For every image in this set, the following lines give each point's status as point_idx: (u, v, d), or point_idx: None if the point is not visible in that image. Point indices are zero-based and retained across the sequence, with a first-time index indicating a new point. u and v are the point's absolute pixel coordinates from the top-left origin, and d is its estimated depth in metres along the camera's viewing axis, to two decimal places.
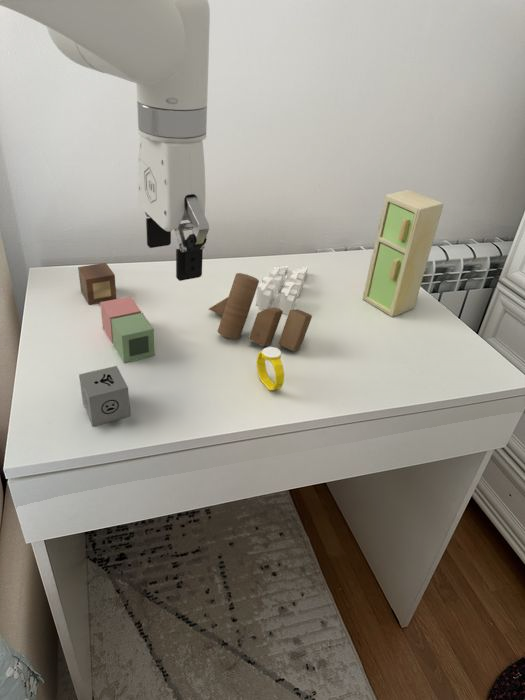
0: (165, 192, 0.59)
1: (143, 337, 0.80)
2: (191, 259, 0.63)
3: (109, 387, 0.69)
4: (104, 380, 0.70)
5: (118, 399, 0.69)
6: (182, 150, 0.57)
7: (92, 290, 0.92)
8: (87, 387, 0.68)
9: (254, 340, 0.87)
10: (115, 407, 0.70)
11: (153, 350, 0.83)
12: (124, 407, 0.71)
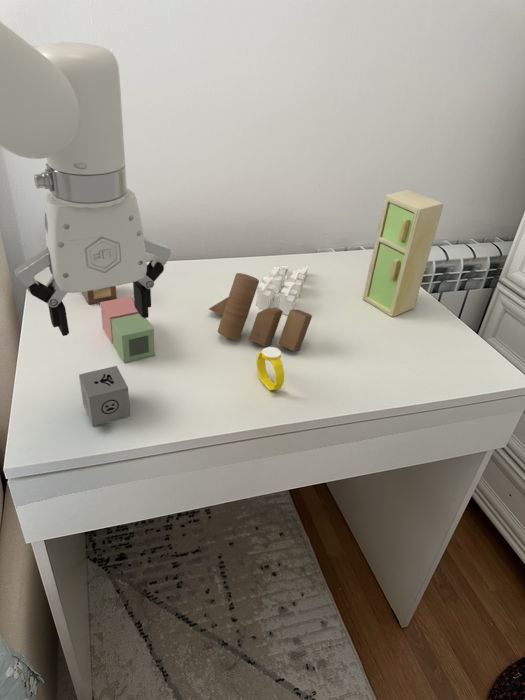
0: (139, 243, 0.59)
1: (143, 337, 0.80)
2: None
3: (109, 387, 0.69)
4: (104, 380, 0.70)
5: (118, 399, 0.69)
6: None
7: (92, 290, 0.92)
8: (87, 387, 0.68)
9: (254, 340, 0.87)
10: (115, 407, 0.70)
11: (153, 350, 0.83)
12: (124, 407, 0.71)
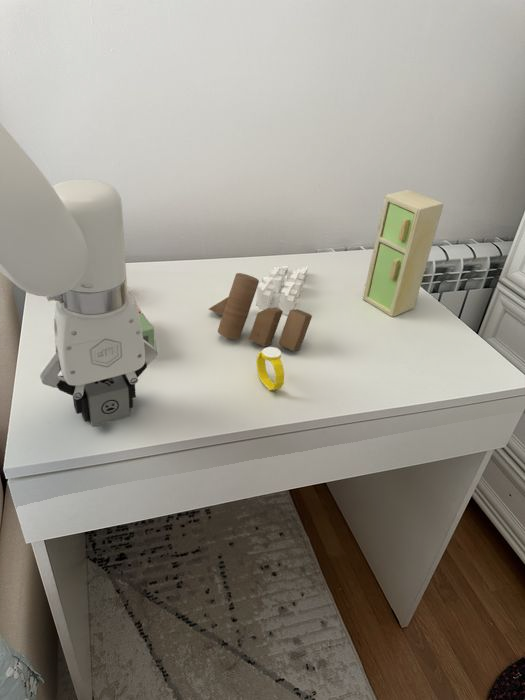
0: (138, 340, 0.66)
1: (143, 337, 0.80)
2: None
3: (109, 387, 0.69)
4: (104, 380, 0.70)
5: (118, 399, 0.69)
6: (135, 301, 0.65)
7: None
8: (87, 387, 0.68)
9: (254, 340, 0.87)
10: (115, 407, 0.70)
11: None
12: (124, 407, 0.71)
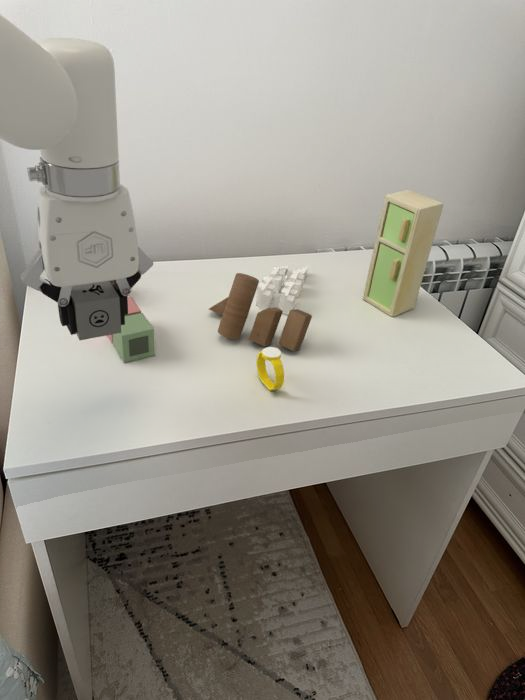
0: (131, 239, 0.59)
1: (143, 337, 0.80)
2: None
3: (98, 296, 0.62)
4: (93, 290, 0.63)
5: (108, 310, 0.63)
6: None
7: None
8: (74, 295, 0.62)
9: (254, 340, 0.87)
10: (105, 320, 0.63)
11: (153, 350, 0.83)
12: (115, 321, 0.64)
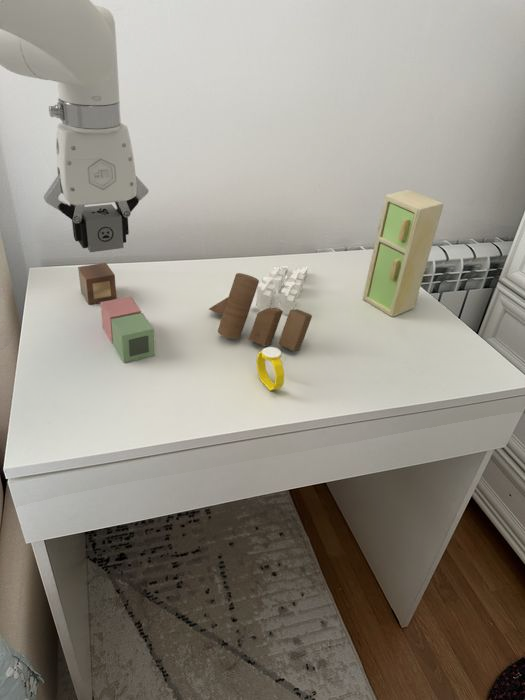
0: (130, 167, 0.75)
1: (143, 337, 0.80)
2: None
3: (105, 215, 0.77)
4: None
5: (113, 227, 0.78)
6: None
7: (92, 290, 0.92)
8: (85, 214, 0.77)
9: (254, 340, 0.87)
10: (110, 235, 0.79)
11: (153, 350, 0.83)
12: (118, 237, 0.79)
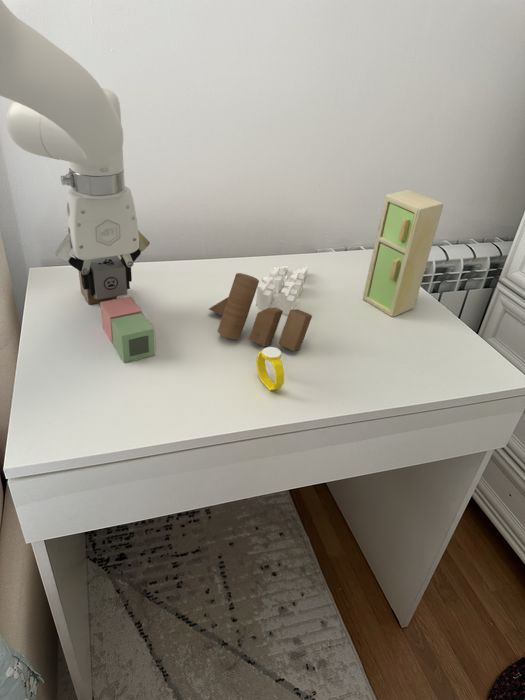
0: (133, 225, 0.83)
1: (143, 337, 0.80)
2: (128, 269, 0.89)
3: (110, 266, 0.86)
4: (106, 263, 0.87)
5: (117, 277, 0.86)
6: None
7: None
8: (92, 266, 0.85)
9: (254, 340, 0.87)
10: (115, 284, 0.87)
11: (153, 350, 0.83)
12: (122, 285, 0.87)
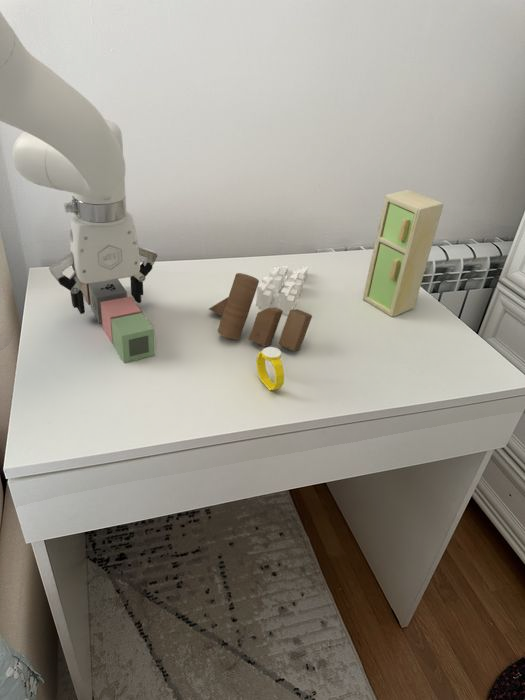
0: (134, 249, 0.85)
1: (143, 337, 0.80)
2: (140, 284, 0.92)
3: (112, 292, 0.88)
4: (108, 287, 0.90)
5: None
6: None
7: None
8: (95, 291, 0.88)
9: (254, 340, 0.87)
10: None
11: (153, 350, 0.83)
12: None
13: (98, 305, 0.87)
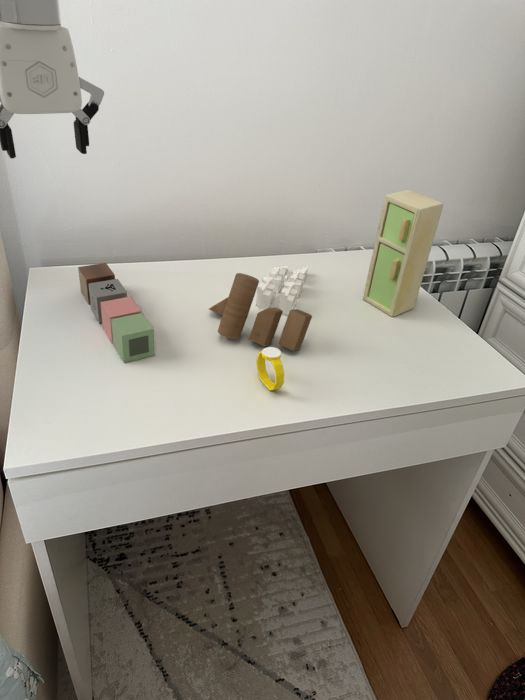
0: (72, 74, 0.70)
1: (143, 337, 0.80)
2: None
3: (112, 292, 0.88)
4: (108, 287, 0.90)
5: None
6: None
7: None
8: (95, 291, 0.88)
9: (254, 340, 0.87)
10: None
11: (153, 350, 0.83)
12: None
13: (98, 305, 0.87)
